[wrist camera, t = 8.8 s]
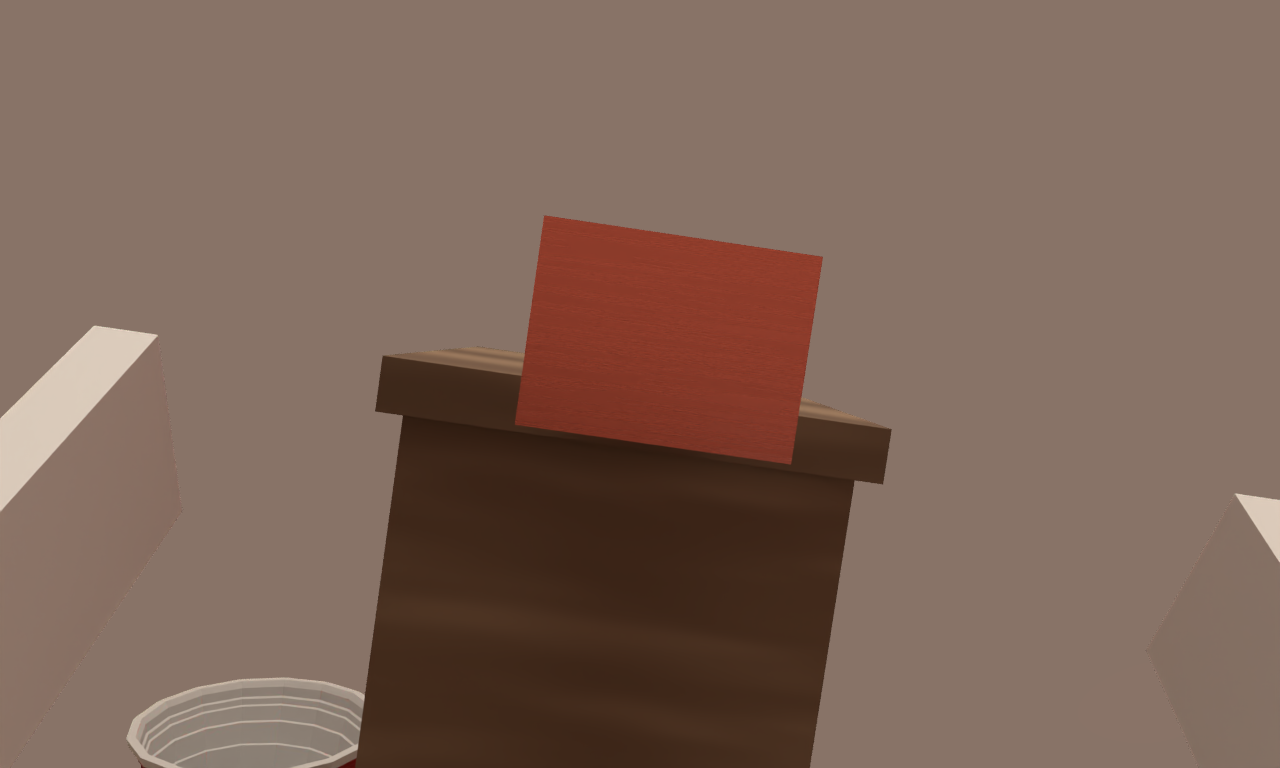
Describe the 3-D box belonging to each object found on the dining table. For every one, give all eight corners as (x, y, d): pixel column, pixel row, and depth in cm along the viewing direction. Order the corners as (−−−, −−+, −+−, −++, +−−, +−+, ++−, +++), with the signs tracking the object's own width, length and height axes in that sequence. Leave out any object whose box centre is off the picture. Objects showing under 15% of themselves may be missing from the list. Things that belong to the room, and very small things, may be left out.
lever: (867, 475, 12) (923, 128, 12) (436, 413, 12) (484, 61, 12) (704, 381, 36) (721, 264, 36) (559, 359, 36) (576, 243, 36)
